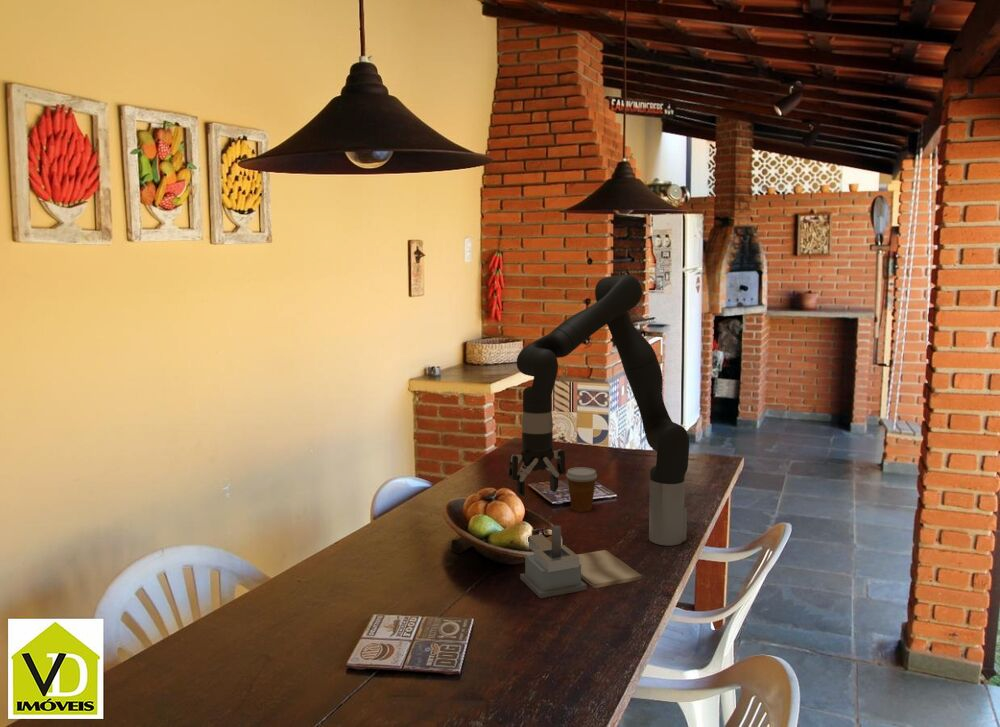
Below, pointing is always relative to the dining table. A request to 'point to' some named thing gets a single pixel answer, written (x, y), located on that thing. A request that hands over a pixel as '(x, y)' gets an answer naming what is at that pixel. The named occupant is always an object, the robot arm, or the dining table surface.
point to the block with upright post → (552, 573)
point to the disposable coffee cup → (581, 488)
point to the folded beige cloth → (605, 569)
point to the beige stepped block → (544, 554)
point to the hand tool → (459, 545)
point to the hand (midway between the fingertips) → (537, 493)
